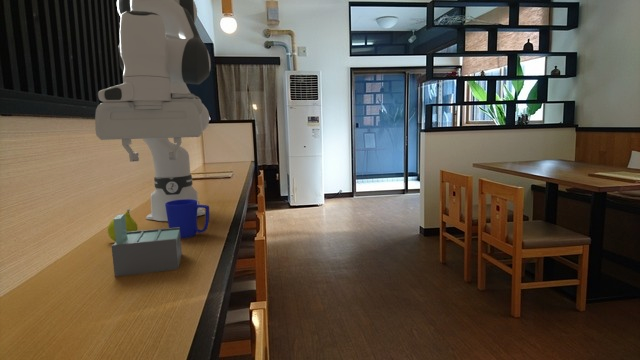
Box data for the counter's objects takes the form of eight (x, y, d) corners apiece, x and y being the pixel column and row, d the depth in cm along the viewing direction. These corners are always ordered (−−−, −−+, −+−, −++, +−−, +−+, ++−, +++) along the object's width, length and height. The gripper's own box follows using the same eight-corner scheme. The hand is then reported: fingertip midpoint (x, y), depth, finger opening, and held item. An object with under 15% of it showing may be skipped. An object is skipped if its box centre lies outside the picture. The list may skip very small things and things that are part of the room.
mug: (202, 243, 99) (200, 205, 97) (161, 241, 101) (158, 204, 100) (217, 234, 107) (215, 199, 105) (178, 232, 109) (176, 198, 108)
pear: (143, 240, 102) (140, 204, 101) (117, 248, 97) (113, 209, 95) (130, 236, 106) (126, 202, 105) (104, 243, 101) (100, 206, 99)
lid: (122, 238, 84) (119, 212, 83) (179, 232, 87) (177, 208, 86) (113, 249, 76) (110, 221, 75) (176, 243, 79) (174, 216, 78)
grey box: (125, 262, 85) (122, 232, 84) (182, 256, 89) (179, 227, 88) (115, 279, 76) (111, 245, 75) (178, 272, 79) (175, 239, 78)
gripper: (201, 94, 83) (205, 157, 85) (98, 94, 78) (105, 161, 80) (200, 91, 77) (205, 159, 79) (88, 91, 72) (96, 164, 74)
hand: (154, 160), depth 80 cm, fingers open, 6 cm apart
